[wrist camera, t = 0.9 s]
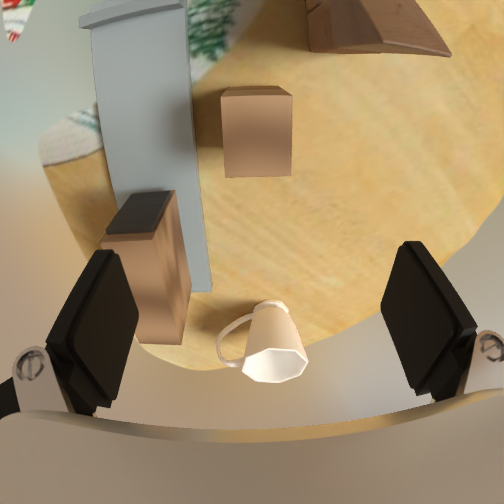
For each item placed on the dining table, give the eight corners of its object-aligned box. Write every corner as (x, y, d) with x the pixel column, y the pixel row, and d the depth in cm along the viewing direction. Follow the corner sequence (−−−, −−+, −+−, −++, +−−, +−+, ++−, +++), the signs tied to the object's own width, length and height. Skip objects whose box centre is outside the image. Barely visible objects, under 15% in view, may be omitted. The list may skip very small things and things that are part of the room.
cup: (301, 325, 38) (310, 378, 31) (226, 337, 39) (223, 389, 32) (295, 285, 34) (305, 342, 27) (210, 300, 35) (203, 356, 28)
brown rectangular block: (228, 87, 22) (220, 97, 15) (278, 85, 22) (292, 95, 15) (231, 148, 25) (225, 183, 18) (278, 147, 25) (290, 181, 18)
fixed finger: (132, 189, 25) (98, 237, 19) (174, 185, 25) (150, 234, 19) (156, 285, 32) (139, 343, 25) (192, 285, 32) (181, 344, 25)
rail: (96, 7, 16) (78, 3, 14) (186, -14, 16) (178, -23, 14) (144, 285, 34) (137, 304, 31) (212, 284, 34) (210, 305, 31)
